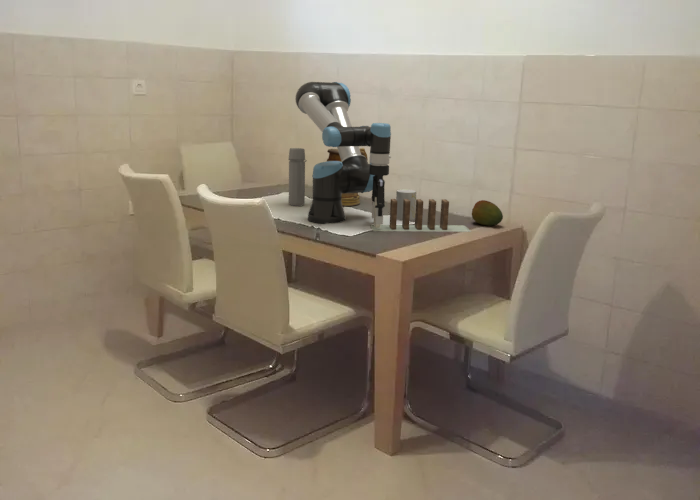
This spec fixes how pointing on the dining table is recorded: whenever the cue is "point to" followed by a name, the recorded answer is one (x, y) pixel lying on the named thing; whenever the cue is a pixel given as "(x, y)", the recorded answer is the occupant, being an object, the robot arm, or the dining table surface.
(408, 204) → the tile
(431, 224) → the tile
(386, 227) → the strip
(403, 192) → the cup
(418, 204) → the tile
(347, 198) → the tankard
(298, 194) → the water bottle
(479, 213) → the fruit
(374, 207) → the ivory tile
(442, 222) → the tile
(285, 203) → the dining table surface
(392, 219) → the tile
